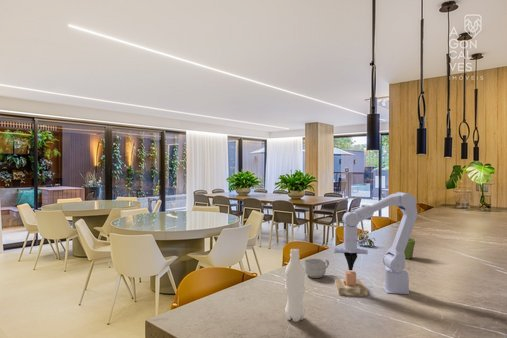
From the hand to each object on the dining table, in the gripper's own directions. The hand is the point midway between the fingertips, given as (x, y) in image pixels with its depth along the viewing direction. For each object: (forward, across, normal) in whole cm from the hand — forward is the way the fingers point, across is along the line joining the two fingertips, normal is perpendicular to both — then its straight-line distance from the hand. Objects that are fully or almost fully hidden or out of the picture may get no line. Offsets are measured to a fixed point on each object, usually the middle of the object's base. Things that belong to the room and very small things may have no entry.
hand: (350, 269), depth 143 cm
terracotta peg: (+9, 0, 0) cm, 9 cm away
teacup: (+10, -13, +18) cm, 24 cm away
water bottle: (+10, -25, -30) cm, 40 cm away
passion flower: (+10, +25, +87) cm, 91 cm away
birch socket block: (+9, 0, 0) cm, 9 cm away
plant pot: (+9, +43, +58) cm, 73 cm away
